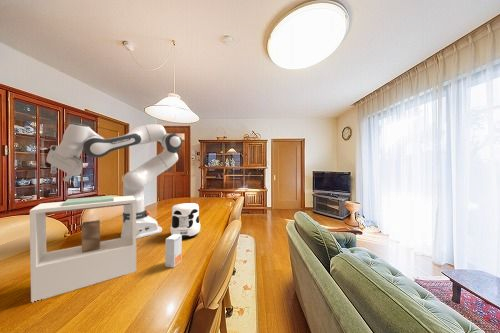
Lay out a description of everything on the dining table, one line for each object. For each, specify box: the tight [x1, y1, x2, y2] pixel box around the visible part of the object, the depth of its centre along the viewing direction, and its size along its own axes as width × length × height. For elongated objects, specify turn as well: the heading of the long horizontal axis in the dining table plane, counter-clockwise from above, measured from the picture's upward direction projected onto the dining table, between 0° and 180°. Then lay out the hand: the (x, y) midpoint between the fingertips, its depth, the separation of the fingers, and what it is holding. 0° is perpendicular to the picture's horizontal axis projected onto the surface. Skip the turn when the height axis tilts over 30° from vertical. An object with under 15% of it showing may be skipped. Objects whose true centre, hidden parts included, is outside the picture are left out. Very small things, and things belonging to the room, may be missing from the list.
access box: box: [29, 195, 137, 303], centre depth 72 cm, size 28×12×30 cm, turn 127°
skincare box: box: [164, 234, 183, 268], centre depth 82 cm, size 6×4×12 cm
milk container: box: [170, 202, 201, 239], centre depth 115 cm, size 17×17×18 cm
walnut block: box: [81, 219, 101, 253], centre depth 72 cm, size 5×5×10 cm
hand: (59, 177), depth 97 cm, fingers open, 8 cm apart
